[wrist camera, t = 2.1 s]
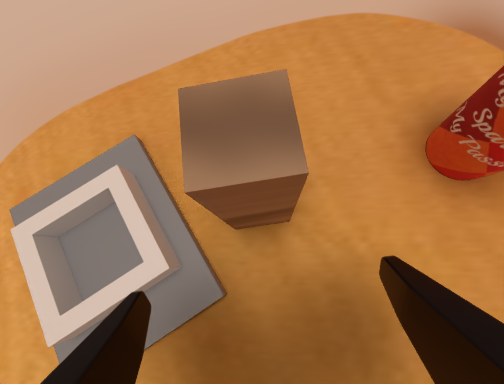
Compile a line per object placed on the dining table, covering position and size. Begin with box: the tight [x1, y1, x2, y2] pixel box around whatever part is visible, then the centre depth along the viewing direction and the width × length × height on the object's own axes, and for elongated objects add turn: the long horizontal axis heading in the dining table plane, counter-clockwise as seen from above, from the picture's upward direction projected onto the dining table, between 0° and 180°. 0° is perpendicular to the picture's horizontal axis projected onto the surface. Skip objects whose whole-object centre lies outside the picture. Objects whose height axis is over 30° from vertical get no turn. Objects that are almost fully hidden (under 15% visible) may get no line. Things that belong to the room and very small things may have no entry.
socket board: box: [10, 135, 226, 364], centre depth 21 cm, size 18×14×4 cm
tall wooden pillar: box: [178, 69, 309, 229], centre depth 16 cm, size 5×5×13 cm
